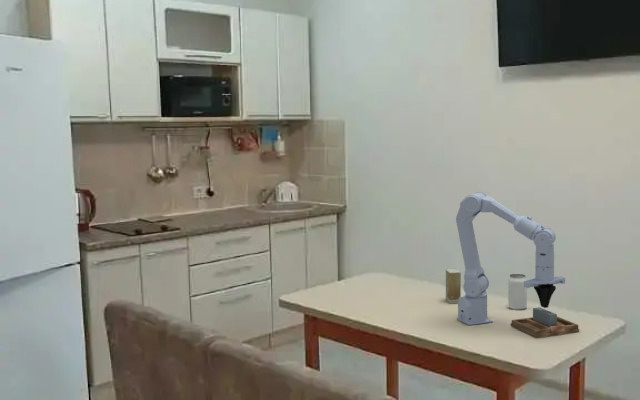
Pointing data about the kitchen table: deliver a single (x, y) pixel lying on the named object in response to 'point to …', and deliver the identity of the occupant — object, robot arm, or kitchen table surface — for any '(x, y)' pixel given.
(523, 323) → the rack
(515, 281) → the can
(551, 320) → the blue-gray rectangular block
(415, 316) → the kitchen table surface
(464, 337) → the kitchen table surface
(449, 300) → the skincare box
